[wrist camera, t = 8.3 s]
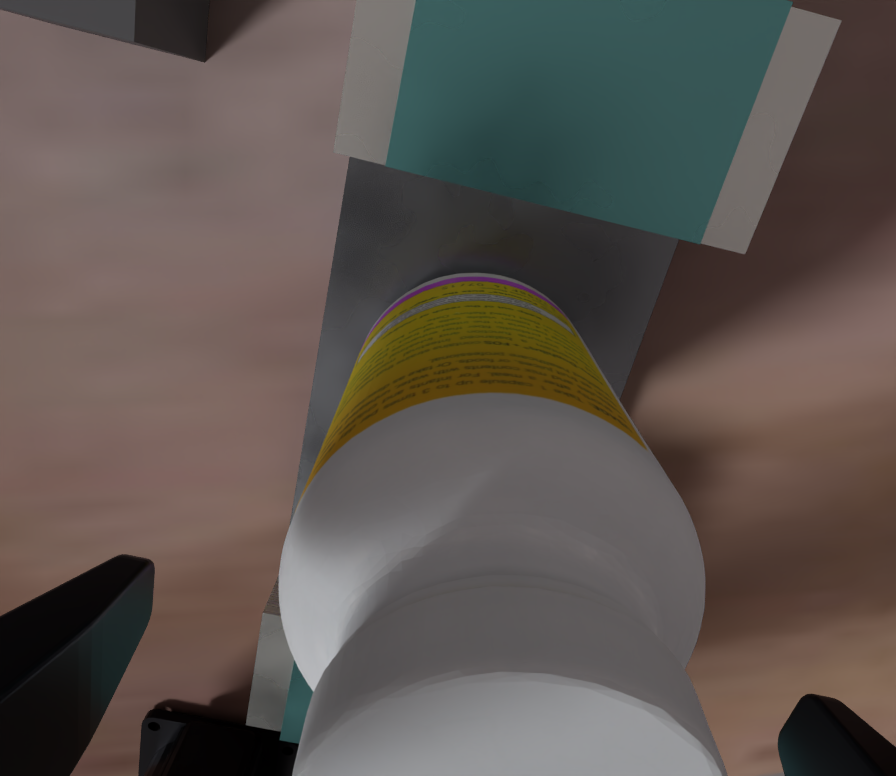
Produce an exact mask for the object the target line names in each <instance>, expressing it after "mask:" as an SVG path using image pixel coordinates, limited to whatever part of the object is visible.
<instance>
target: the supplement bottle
mask: <svg viewBox="0 0 896 776" xmlns="http://www.w3.org/2000/svg"><path fill="white" fill-rule="evenodd" d="M279 606H280V613H281V619H282V624H283V629H284V632H285V635H286V639H287V642H288V645H289V648H290V650H291V653H292V655H293V657H294V660H295V662H296V664H297V666H298V668H299V670H300V672H301V673H302V675H303V677H304V678H305V680H306V682H307V683H308V685H309V686H310V688H311V689H312V690H313V694H312V698H311V701H310V704H309V707H308V711H307V715H306V718H305V722H304V726H303V730H302V735H301V739H300V743H299V747H298V751H297V756H296V760H295V764H294V769H293V773H292V776H727V772H726V769H725V766H724V763H723V760H722V758H721V756H720V753H719V751H718V748H717V746H716V743H715V741H714V738H713V736H712V733H711V731H710V729H709V726H708V723H707V720H706V718H705V715H704V712H703V710H702V707H701V704H700V702H699V699H698V696H697V694H696V692H695V689H694V687H693V685H692V682H691V680H690V678H689V676H688V674H687V673H686V671H685V668H686V666H687V664H688V661H689V659H690V657H691V655H692V653H693V650H694V648H695V645H696V642H697V639H698V635H699V632H700V628H701V623H702V618H703V614H704V608H705V569H704V561H703V556H702V551H701V547H700V543H699V540H698V536H697V533H696V529H695V527H694V524H693V522H692V519H691V516H690V514H689V512H688V510H687V508H686V506H685V504H684V502H683V500H682V498H681V497H680V495H679V493H678V492H677V490H676V489H675V487H674V486H673V484H672V483H671V481H670V479H669V478H668V476H667V475H666V473H665V472H664V470H663V468H662V467H661V465H660V464H659V462H658V461H657V459H656V458H655V456H654V455H653V453H652V451H651V450H650V448H649V447H648V445H647V444H646V442H645V441H644V439H643V437H642V436H641V434H640V432H639V431H638V429H637V428H636V426H635V424H634V423H633V421H632V420H631V418H630V416H629V415H628V413H627V412H626V410H625V409H624V407H623V405H622V404H621V402H620V400H619V399H618V397H617V395H616V394H615V392H614V390H613V389H612V387H611V386H610V384H609V382H608V381H607V379H606V377H605V376H604V374H603V373H602V371H601V369H600V368H599V366H598V364H597V363H596V361H595V359H594V358H593V356H592V354H591V353H590V351H589V349H588V348H587V346H586V344H585V343H584V341H583V340H582V338H581V336H580V335H579V333H578V332H577V330H576V329H575V327H574V326H573V324H572V323H571V321H570V320H569V319H568V317H567V316H566V315H565V314H564V312H563V311H562V310H561V309H560V308H559V307H558V306H557V305H556V304H555V303H554V302H552V301H551V300H550V299H549V298H548V297H546V296H545V295H544V294H542V293H541V292H539V291H537V290H536V289H534V288H532V287H530V286H529V285H526V284H524V283H522V282H520V281H517V280H515V279H512V278H508V277H504V276H501V275H495V274H487V273H460V274H453V275H448V276H443V277H439V278H436V279H433V280H431V281H428V282H425V283H423V284H421V285H419V286H417V287H416V288H414V289H412V290H410V291H408V292H407V293H405V294H404V295H403V296H401V297H400V298H399V299H397V300H396V301H395V302H394V303H393V304H392V305H390V306H389V307H388V308H387V309H386V310H385V311H384V312H383V314H382V315H381V316H380V317H379V319H378V320H377V321H376V323H375V324H374V325H373V327H372V329H371V330H370V332H369V334H368V336H367V337H366V340H365V342H364V344H363V346H362V348H361V351H360V353H359V355H358V358H357V360H356V363H355V366H354V368H353V371H352V373H351V376H350V379H349V381H348V384H347V386H346V389H345V391H344V394H343V396H342V399H341V401H340V403H339V406H338V408H337V411H336V413H335V416H334V418H333V421H332V423H331V425H330V428H329V430H328V433H327V435H326V438H325V440H324V443H323V445H322V447H321V450H320V452H319V455H318V457H317V460H316V462H315V465H314V467H313V469H312V472H311V474H310V476H309V479H308V481H307V484H306V486H305V488H304V491H303V493H302V495H301V498H300V500H299V502H298V505H297V507H296V510H295V513H294V516H293V519H292V522H291V525H290V527H289V530H288V533H287V536H286V539H285V542H284V546H283V551H282V555H281V562H280V570H279Z"/></svg>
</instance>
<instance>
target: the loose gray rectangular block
mask: <svg viewBox="0 0 896 776" xmlns="http://www.w3.org/2000/svg"><path fill="white" fill-rule="evenodd" d="M209 1H210V0H0V9H1V10H4V11H8V12H12V13H15V14H19V15H22V16H26V17H30V18H33V19H37V20H41V21H44V22H48V23H51V24H55V25H59V26H63V27H67V28H71V29H75V30H79V31H83V32H87V33H91V34H95V35H99V36H103V37H107V38H110V39H114V40H118V41H122V42H126V43H130V44H134V45H138V46H142V47H146V48H150V49H154V50H158V51H162V52H166V53H170V54H174V55H178V56H182V57H186V58H189V59H193V60H197V61H201V62H205V55H206V41H207V28H208V15H209Z"/></svg>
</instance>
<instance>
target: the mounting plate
mask: <svg viewBox="0 0 896 776" xmlns="http://www.w3.org/2000/svg"><path fill="white" fill-rule="evenodd" d="M792 4H793V2H791V1H788V0H357V1H356V7H355V14H354V20H353V27H352V33H351V40H350V46H349V53H348V59H347V66H346V72H345V79H344V86H343V92H342V99H341V105H340V112H339V118H338V125H337V131H336V138H335V144H334V151H333V153H337V154H341V155H345V156H350V158H349V165H348V171H347V177H346V183H345V189H344V195H343V201H342V207H341V214H340V220H339V226H338V232H337V238H336V244H335V250H334V257H333V263H332V269H331V275H330V281H329V287H328V293H327V300H326V306H325V312H324V318H323V324H322V330H321V336H320V343H319V349H318V355H317V361H316V367H315V373H314V379H313V386H312V392H311V398H310V404H309V410H308V416H307V422H306V429H305V435H304V441H303V447H302V453H301V459H300V465H299V472H298V478H297V484H296V490H295V496H294V502H293V508H292V515H291V521H290V525H291V522H292V519H293V516H294V513H295V510H296V507H297V505H298V502H299V500H300V498H301V495H302V493H303V491H304V488H305V486H306V484H307V481H308V479H309V476H310V474H311V472H312V469H313V467H314V465H315V462H316V460H317V457H318V455H319V452H320V450H321V447H322V445H323V443H324V440H325V438H326V435H327V433H328V430H329V428H330V425H331V423H332V421H333V418H334V416H335V413H336V411H337V408H338V406H339V403H340V401H341V399H342V396H343V394H344V391H345V389H346V386H347V384H348V381H349V379H350V376H351V373H352V371H353V368H354V366H355V363H356V360H357V358H358V355H359V353H360V351H361V348H362V346H363V344H364V342H365V340H366V337H367V336H368V334H369V332H370V330H371V329H372V327H373V325H374V324H375V323H376V321H377V320H378V319H379V317H380V316H381V315H382V314H383V312H384V311H385V310H386V309H387V308H388V307H389V306H390V305H392V304H393V303H394V302H395V301H396V300H397V299H399V298H400V297H401V296H403V295H404V294H405V293H407V292H408V291H410V290H412V289H414V288H416V287H417V286H419V285H421V284H423V283H425V282H428V281H431V280H433V279H436V278H439V277H443V276H448V275H453V274H460V273H487V274H495V275H501V276H504V277H508V278H512V279H515V280H517V281H520V282H522V283H524V284H526V285H529V286H530V287H532V288H534V289H536V290H537V291H539V292H541V293H542V294H544V295H545V296H546V297H548V298H549V299H550V300H551V301H552V302H554V303H555V304H556V305H557V306H558V307H559V308H560V309H561V310H562V311H563V312H564V314H565V315H566V316H567V317H568V319H569V320H570V321H571V323H572V324H573V326H574V327H575V329H576V330H577V332H578V333H579V335H580V336H581V338H582V340H583V341H584V343H585V344H586V346H587V348H588V349H589V351H590V353H591V354H592V356H593V358H594V359H595V361H596V363H597V364H598V366H599V368H600V369H601V371H602V373H603V374H604V376H605V377H606V379H607V381H608V382H609V384H610V386H611V387H612V389H613V390H614V392H615V394H616V395H617V397H618V399H619V400H620V398H621V395H622V392H623V390H624V387H625V384H626V382H627V379H628V376H629V373H630V371H631V368H632V365H633V363H634V360H635V357H636V354H637V352H638V349H639V346H640V344H641V341H642V338H643V336H644V333H645V330H646V327H647V325H648V322H649V319H650V317H651V314H652V311H653V308H654V306H655V303H656V300H657V298H658V295H659V292H660V290H661V287H662V284H663V281H664V279H665V276H666V273H667V271H668V268H669V265H670V262H671V260H672V257H673V254H674V252H675V249H676V246H677V244H678V241H679V239H681V240H685V241H689V242H693V243H697V244H705V245H709V246H713V247H717V248H721V249H725V250H729V251H733V252H737V253H741V254H745V253H746V251H747V249H748V246H749V244H750V241H751V239H752V237H753V234H754V232H755V229H756V227H757V224H758V222H759V220H760V217H761V215H762V212H763V210H764V207H765V205H766V203H767V200H768V198H769V195H770V193H771V191H772V188H773V186H774V183H775V181H776V178H777V176H778V174H779V171H780V169H781V166H782V164H783V162H784V159H785V157H786V154H787V152H788V149H789V147H790V145H791V142H792V140H793V137H794V135H795V132H796V130H797V128H798V125H799V123H800V120H801V118H802V116H803V113H804V111H805V108H806V106H807V103H808V101H809V99H810V96H811V94H812V91H813V89H814V87H815V84H816V82H817V79H818V77H819V74H820V72H821V70H822V67H823V65H824V62H825V60H826V57H827V55H828V53H829V50H830V48H831V45H832V43H833V41H834V38H835V36H836V33H837V31H838V28H839V26H840V24H841V21H842V20H838V19H835V18H831V17H827V16H824V15H820V14H816V13H813V12H809V11H806V10H802V9H798V8H795V7H791V6H792ZM312 694H313V690H312V689H311V688H310V686H309V685H308V683H307V682H306V680H305V678H304V677H303V675H302V673H301V672H300V670H299V668H298V666H297V664H296V662H295V660H294V657H293V655H292V653H291V650H290V648H289V645H288V642H287V639H286V635H285V632H284V629H283V624H282V619H281V613H280V606H279V576H278V578H277V580H276V583H275V585H274V587H273V590H272V592H271V595H270V597H269V599H268V602H267V604H266V606H265V609H264V611H263V615H262V622H261V628H260V635H259V641H258V648H257V654H256V661H255V667H254V674H253V680H252V687H251V693H250V700H249V707H248V713H247V720H246V725H248V726H253V727H259V728H264V729H269V730H275V731H280V732H281V735H280V740H282V741H287V742H293V743H298V744H299V743H300V739H301V735H302V730H303V726H304V722H305V718H306V715H307V711H308V707H309V704H310V701H311V698H312Z"/></svg>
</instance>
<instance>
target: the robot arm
mask: <svg viewBox="0 0 896 776" xmlns="http://www.w3.org/2000/svg"><path fill="white" fill-rule="evenodd" d="M154 574H155V567H154V563H153V562H152V561H151V560H150V559H146V558H141V557H136V556H132V555H127V554H122V555H118V556H116V557H114V558H112V559H110V560H108V561H106V562H104V563H102V564H100V565H98V566H96V567H94V568H92V569H90V570H89V571H87V572H85V573H83V574H81V575H79V576H77V577H75V578H73V579H71V580H69V581H67V582H65V583H63V584H61V585H60V586H58V587H56V588H54V589H52V590H50V591H48V592H46V593H44V594H42V595H40V596H38V597H36V598H34V599H32V600H31V601H29V602H27V603H25V604H23V605H21V606H19V607H17V608H15V609H13V610H11V611H9V612H7V613H5V614H3V615H2V616H0V776H70V774H71V773H72V771H73V770H74V768H75V766H76V765H77V763H78V761H79V760H80V758H81V756H82V755H83V753H84V751H85V750H86V748H87V746H88V744H89V743H90V741H91V739H92V737H93V735H94V733H95V731H96V729H97V727H98V725H99V723H100V721H101V719H102V717H103V715H104V713H105V711H106V709H107V707H108V705H109V703H110V701H111V699H112V697H113V695H114V693H115V691H116V689H117V687H118V685H119V683H120V680H121V678H122V676H123V674H124V672H125V670H126V668H127V666H128V664H129V662H130V660H131V658H132V656H133V654H134V652H135V650H136V648H137V646H138V644H139V642H140V640H141V638H142V636H143V634H144V631H145V629H146V627H147V625H148V622H149V620H150V616H151V612H152V604H153V589H154ZM280 735H281V732H278V731H273V730H267V729H262V728H256V727H251V726H246V725H240V724H235V723H229V722H224V721H219V720H213V719H208V718H203V717H197V716H192V715H186V714H181V713H176V712H170V711H165V710H160V709H153V710H150V711H149V712H148V713H147V715H146V716H145V718H144V720H143V722H142V728H141V743H140V759H139V775H138V776H292V773H293V769H294V764H295V760H296V756H297V751H298V747H299V744H298V743H293V742H287V741H282V740H280ZM778 751H779V756H780V759H781V763H782V767H783V771H784V774H785V776H896V747H895V746H894V745H892V744H891V743H890V742H889V741H888V740H886V739H885V738H884V737H883V736H882V735H880V734H879V733H878V732H877V731H876V730H874V729H873V728H872V727H871V726H870V725H868V724H867V723H866V722H865V721H864V720H862V719H861V718H860V717H859V716H858V715H857V714H855V713H854V712H853V711H852V710H851V709H849V708H848V707H847V706H846V705H845V704H843V703H842V702H841V701H839V700H837V699H834V698H831V697H826V696H821V695H816V694H807V695H805V696H803V697H802V698H801V699H800V700H799V702H798V703H797V705H796V707H795V708H794V710H793V711H792V713H791V715H790V716H789V718H788V720H787V721H786V723H785V724H784V726H783V728H782V729H781V731H780V733H779V737H778Z"/></svg>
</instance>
